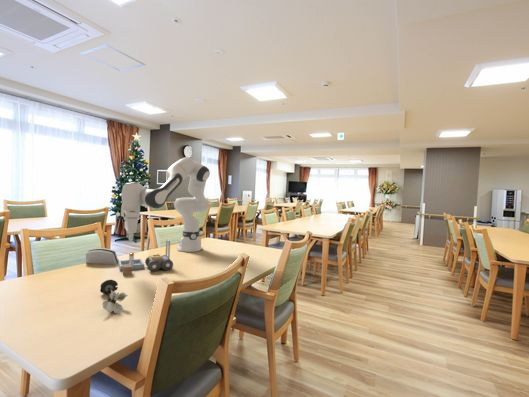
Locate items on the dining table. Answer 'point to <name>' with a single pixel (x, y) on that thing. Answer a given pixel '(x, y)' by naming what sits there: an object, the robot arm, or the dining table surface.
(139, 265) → the tray
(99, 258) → the grey curved block
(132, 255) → the pin
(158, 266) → the trolley
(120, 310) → the artificial flower
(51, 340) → the dining table surface
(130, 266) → the chock
